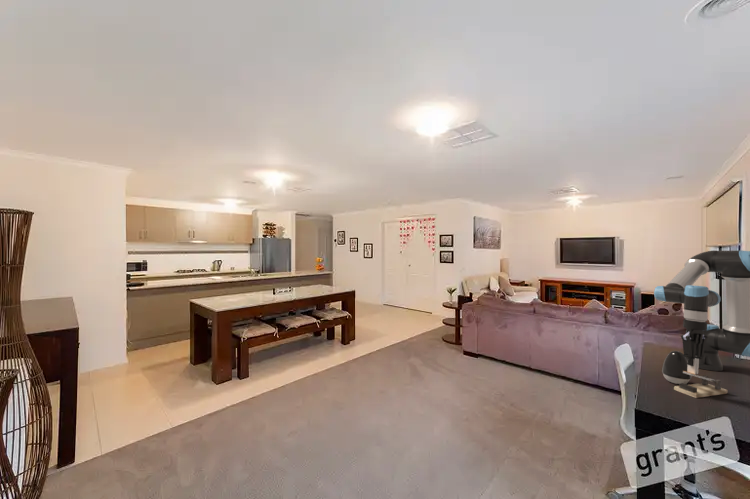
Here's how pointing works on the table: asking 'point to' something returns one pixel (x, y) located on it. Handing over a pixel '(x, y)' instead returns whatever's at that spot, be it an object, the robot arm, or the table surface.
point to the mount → (701, 389)
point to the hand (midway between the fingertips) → (692, 372)
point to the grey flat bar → (699, 376)
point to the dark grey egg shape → (676, 368)
